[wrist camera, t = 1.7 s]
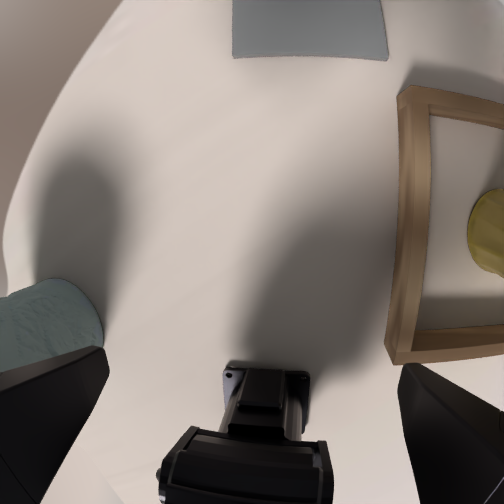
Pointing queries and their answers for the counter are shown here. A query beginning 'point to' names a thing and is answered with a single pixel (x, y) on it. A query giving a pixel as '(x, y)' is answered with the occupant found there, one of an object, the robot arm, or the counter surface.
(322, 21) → the slate mat
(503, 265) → the vase
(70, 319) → the grey-blue cup
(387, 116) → the counter surface
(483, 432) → the robot arm
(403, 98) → the wooden frame
